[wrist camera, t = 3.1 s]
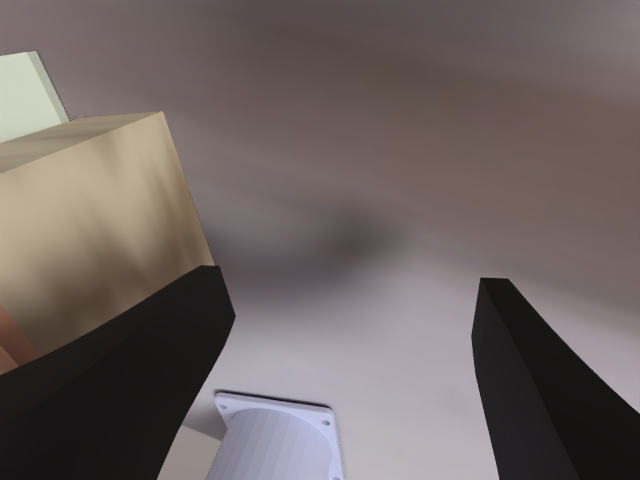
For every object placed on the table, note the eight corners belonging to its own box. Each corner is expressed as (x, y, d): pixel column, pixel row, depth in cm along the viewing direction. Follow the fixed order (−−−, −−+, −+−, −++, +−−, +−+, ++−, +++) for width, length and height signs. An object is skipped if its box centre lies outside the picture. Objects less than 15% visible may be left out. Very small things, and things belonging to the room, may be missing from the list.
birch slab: (224, 291, 18) (104, 466, 11) (158, 287, 19) (10, 444, 12) (163, 110, 13) (-110, 216, 6) (80, 118, 14) (-234, 216, 7)
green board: (165, 320, 20) (161, 326, 20) (35, 309, 23) (29, 313, 23) (36, 51, 13) (26, 52, 13) (-134, 77, 16) (-146, 78, 15)
